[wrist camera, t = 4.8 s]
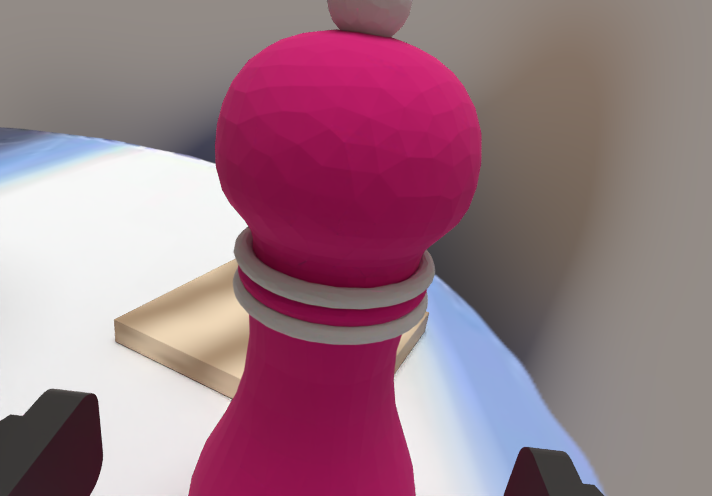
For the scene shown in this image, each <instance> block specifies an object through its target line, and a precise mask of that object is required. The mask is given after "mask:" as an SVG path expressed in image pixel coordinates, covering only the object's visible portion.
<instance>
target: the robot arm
mask: <svg viewBox="0 0 712 496" xmlns="http://www.w3.org/2000/svg"><path fill="white" fill-rule="evenodd" d="M102 461H103V448H102V438H101V427H100V416H99V405H98V399H97V397H96V395H95V394H93V393H85V392H76V391H68V390H60V389H49V390H47V391H46V392H44V393H43V394H42V395H41V396H40V397H39V398H38V400H37V401H36V402H35V403H34V404H33V405H32V406H31V407H30V409H29V410H28V411H27V412H26V413H25V414H24V415H23V416H18V415H9V416H7V417H6V418H4V419H3V420H1V421H0V496H90V494H91V493H92V491H93V489H94V487H95V485H96V483H97V480H98V477H99V474H100V471H101V467H102ZM503 496H604V495H603V494H602V493H601V492H600V491H599V490H598V488H597V487H596V486H595V485H590V484H583V483H582V481H581V479H580V477H579V475H578V473H577V471H576V469H575V467H574V465H573V462H572V460H571V459H570V457H569V456H568V454H567V453H565V452H563V451H556V450H548V449H539V448H531V447H523V448H522V449H521V450H520V452H519V454H518V457H517V459H516V462H515V465H514V468H513V470H512V473H511V476H510V479H509V482H508V484H507V487H506V490H505V493H504V495H503Z"/></svg>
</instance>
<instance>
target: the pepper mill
mask: <svg viewBox="0 0 712 496" xmlns="http://www.w3.org/2000/svg"><path fill="white" fill-rule="evenodd" d="M327 2H328V8H329V12H330V14H331V17H332V20H333V22H334V23H335V24H336V25H337V27H338V28H339V29H340V30H327V31H317V32H308V33H302V34H298V35H295V36H292V37H288V38H285V39H282V40H280V41H278V42H276V43H274V44H272V45H270V46H268V47H267V48H265V49H264V50H262V51H261V52H260V53H258V54H257V55H256V56H254V57H253V58H251V59H250V60H248V62H247V63H246V64H245V66H244V67H243V68H242V69H241V71H240V72H239V73H238V75H237V76H236V77H235V79H234V80H233V81H232V83H231V85H230V87H229V90H228V92H227V94H226V96H225V98H224V101H223V103H222V107H221V111H220V115H219V118H218V123H217V130H216V141H215V157H216V169H217V173H218V176H219V180H220V184H221V187H222V191H223V192H224V194H225V196H226V197H227V199H228V201H229V203H230V204H231V205H232V206H233V207H234V209H235V210H236V211H237V212H238V213H239V214H240V216H241V217H242V218H243V219H244V220H245V222H246V223H247V225H248V227H247V228H246V229H245V230H243V231H242V232H241V234H240V235H239V236H238V237H237V239H236V242H235V247H234V255H235V258H236V261H237V263H238V267H237V269H236V271H235V274H234V278H233V289H234V293H235V297H236V299H237V300H238V302H239V303H240V305H241V306H242V307H243V308H244V309H245V310H246V312H247V313H248V314H249V341H248V347H247V354H246V360H245V367H244V372H243V374H242V377H241V380H240V383H239V386H238V389H237V392H236V394H235V395H234V397H233V399H232V401H231V403H230V405H229V406H228V408H227V410H226V412H225V414H224V415H223V417H222V418H221V420H220V421H219V422H218V424H217V425H216V427H215V428H214V430H213V431H212V433H211V434H210V436H209V437H208V439H207V441H206V443H205V445H204V447H203V450H202V452H201V454H200V457H199V460H198V462H197V465H196V467H195V470H194V473H193V475H192V479H191V485H190V490H189V495H188V496H416V494H415V484H414V475H413V466H412V462H411V458H410V454H409V450H408V447H407V444H406V440H405V437H404V433H403V430H402V426H401V423H400V420H399V416H398V412H397V408H396V404H395V393H394V371H395V363H396V354H397V349H398V346H399V343H400V340H401V337H402V334H404V333H406V332H408V331H409V330H410V329H412V328H413V327H414V326H416V325H417V324H418V323H419V322H420V320H421V319H422V318H423V317H424V314H425V312H426V309H427V303H428V298H427V292H426V291H427V288H428V287H429V286H430V284H431V283H432V281H433V278H434V275H435V267H434V263H433V260H432V257H431V255H430V254H429V252H428V251H427V250H426V249H427V248H429V247H430V246H431V245H432V244H433V243H434V242H436V241H437V240H439V239H440V238H441V237H442V236H444V235H445V234H446V233H448V232H449V231H450V230H451V229H452V228H454V227H455V226H456V225H457V224H458V223H459V222H460V220H461V219H462V217H463V216H464V214H465V213H466V212H467V210H468V209H469V206H470V203H471V201H472V198H473V195H474V193H475V190H476V187H477V182H478V177H479V172H480V166H481V130H480V126H479V122H478V118H477V114H476V110H475V107H474V105H473V103H472V101H471V99H470V97H469V95H468V93H467V91H466V89H465V88H464V86H463V85H462V83H461V82H460V81H459V80H458V78H457V77H456V76H455V75H454V73H453V72H452V71H451V70H449V69H448V68H447V67H446V66H445V65H443V64H442V63H441V62H440V61H438V60H437V59H436V58H435V57H433V56H431V55H429V54H428V53H426V52H424V51H422V50H420V49H419V48H416V47H414V46H412V45H410V44H407V43H405V42H402V41H400V40H397V39H394V38H392V36H393V35H394V34H395V33H396V32H397V31H398V30H399V29H400V28H401V27H402V26H403V25H404V23H405V21H406V20H407V18H408V16H409V13H410V9H411V5H412V0H327Z"/></svg>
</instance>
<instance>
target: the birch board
mask: <svg viewBox="0 0 712 496" xmlns="http://www.w3.org/2000/svg"><path fill="white" fill-rule="evenodd" d="M237 267H238V263H237V261H236V259H234V260H232V261H230V262H228V263H226V264H224V265H222V266H220V267H218V268H216V269H214V270H212V271H210V272H208V273H206V274H204V275H202V276H200V277H198V278H196V279H194V280H192V281H190V282H188V283H186V284H184V285H182V286H180V287H178V288H176V289H174V290H172V291H170V292H168V293H166V294H164V295H162V296H160V297H158V298H156V299H154V300H152V301H150V302H148V303H146V304H144V305H142V306H140V307H138V308H136V309H134V310H132V311H130V312H128V313H126V314H124V315H122V316H120V317H118V318H116V319H114V327H115V341H116V342H118V343H120V344H122V345H124V346H126V347H128V348H130V349H132V350H134V351H136V352H138V353H140V354H142V355H144V356H146V357H148V358H150V359H152V360H154V361H156V362H159V363H161V364H163V365H165V366H167V367H169V368H171V369H173V370H175V371H177V372H179V373H181V374H183V375H185V376H187V377H189V378H191V379H193V380H195V381H197V382H199V383H201V384H203V385H205V386H207V387H209V388H211V389H213V390H216V391H218V392H220V393H222V394H224V395H226V396H228V397H230V398H232V399H233V397H234V395H235V394H236V392H237V389H238V386H239V383H240V380H241V377H242V374H243V372H244V367H245V360H246V354H247V347H248V341H249V314H248V313H247V312H246V310H245V309H244V308H243V307H242V306H241V305H240V303H239V302H238V300H237V299H236V297H235V293H234V289H233V278H234V274H235V271H236V269H237ZM428 315H429V312H425V314H424V317H423V318H422V319H421V320H420V322H419V323H418V324H417V325H416V326H414V327H413V328H412V329H410V330H409V331H408V332H406V333H404V334H402V337H401V340H400V343H399V346H398V349H397V354H396V363H395V371H394V374H395V372H396V371H397V370H398V368H399V367H400V365H401V364H402V363H403V361H404V360H405V358H406V357H407V355H408V354H409V353H410V351H411V350H412V348H413V347H414V346H415V344H416V343H417V341H418V340H419V339H420V337H421V336H422V334H423V333H424V332H425V329H426V324H427V320H428Z"/></svg>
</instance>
